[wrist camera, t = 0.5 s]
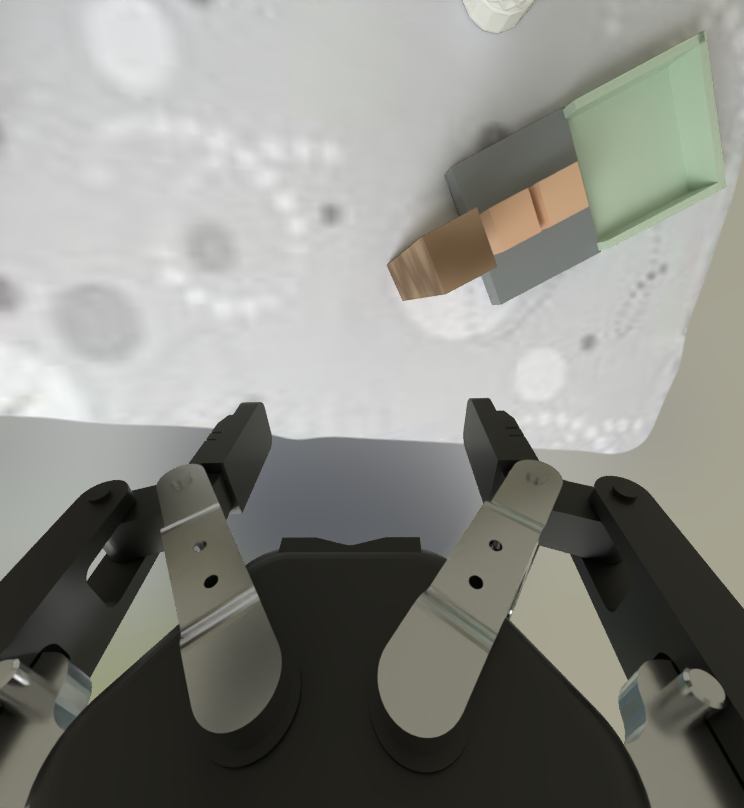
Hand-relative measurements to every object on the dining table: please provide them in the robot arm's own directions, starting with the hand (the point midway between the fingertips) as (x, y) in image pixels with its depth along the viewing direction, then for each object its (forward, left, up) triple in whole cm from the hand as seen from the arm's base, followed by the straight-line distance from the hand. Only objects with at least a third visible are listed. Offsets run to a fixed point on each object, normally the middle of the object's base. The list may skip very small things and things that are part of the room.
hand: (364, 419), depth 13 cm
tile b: (-8, +24, -23) cm, 34 cm away
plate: (-8, +22, -25) cm, 34 cm away
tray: (-10, +34, -25) cm, 43 cm away
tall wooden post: (-5, +10, -25) cm, 27 cm away
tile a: (-7, +19, -23) cm, 30 cm away
